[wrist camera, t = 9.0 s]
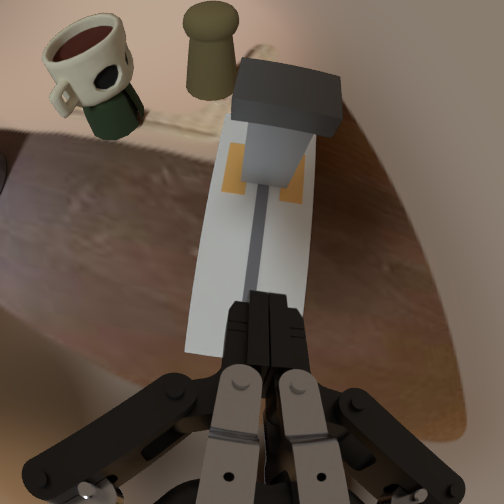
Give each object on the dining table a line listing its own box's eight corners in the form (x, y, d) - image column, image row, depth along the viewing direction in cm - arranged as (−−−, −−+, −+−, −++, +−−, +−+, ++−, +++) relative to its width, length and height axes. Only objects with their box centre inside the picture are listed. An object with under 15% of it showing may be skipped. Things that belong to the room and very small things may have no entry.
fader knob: (297, 193, 25) (342, 119, 14) (228, 182, 24) (231, 98, 14) (300, 158, 26) (340, 76, 15) (234, 147, 25) (241, 57, 14)
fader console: (290, 361, 24) (296, 365, 22) (187, 348, 24) (184, 351, 22) (311, 138, 29) (316, 127, 27) (225, 124, 28) (226, 112, 26)
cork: (232, 63, 30) (237, -9, 19) (243, 96, 29) (252, 19, 18) (183, 70, 29) (174, -1, 19) (189, 105, 28) (179, 27, 18)
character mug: (124, 168, 26) (72, 84, 14) (72, 157, 26) (13, 86, 13) (166, 89, 29) (147, -1, 16) (115, 83, 28) (85, 5, 16)
